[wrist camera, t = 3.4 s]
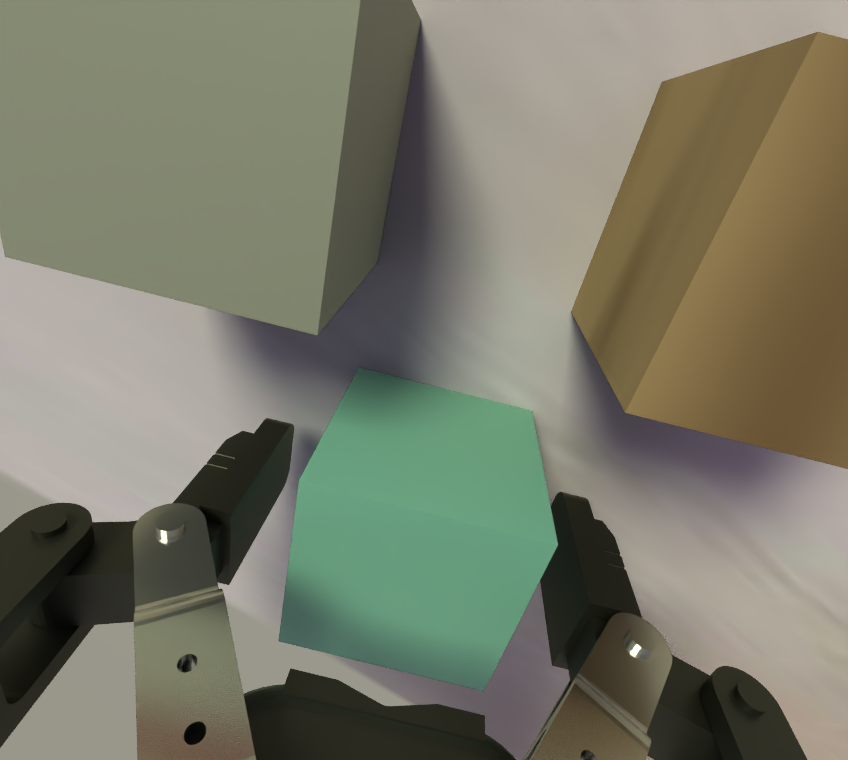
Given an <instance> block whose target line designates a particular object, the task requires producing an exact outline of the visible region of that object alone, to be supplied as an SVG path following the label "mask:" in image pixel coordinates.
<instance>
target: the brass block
mask: <svg viewBox="0 0 848 760" xmlns="http://www.w3.org/2000/svg"><path fill="white" fill-rule="evenodd" d="M571 313H572V315H573V316H574V318H575V320H576V322H577V324H578V326H579V328H580V329H581V331H582V333H583V335H584V337H585V339H586V341H587V343H588V344H589V346H590V348H591V350H592V352H593V354H594V356H595V358H596V359H597V361H598V363H599V365H600V367H601V369H602V371H603V373H604V374H605V376H606V378H607V380H608V382H609V384H610V386H611V387H612V389H613V391H614V393H615V395H616V397H617V399H618V401H619V402H620V404H621V406H622V408H623V410H624V412H625V413H628V414H632V415H636V416H640V417H644V418H648V419H652V420H656V421H660V422H664V423H668V424H672V425H676V426H680V427H684V428H688V429H692V430H696V431H699V432H703V433H707V434H711V435H715V436H719V437H723V438H727V439H731V440H735V441H739V442H743V443H747V444H751V445H755V446H759V447H763V448H767V449H771V450H775V451H779V452H783V453H787V454H791V455H795V456H799V457H803V458H807V459H811V460H815V461H819V462H823V463H827V464H831V465H835V466H839V467H843V468H846V469H848V40H847V39H843V38H840V37H836V36H832V35H828V34H824V33H820V32H816V33H813V34H810V35H807V36H804V37H801V38H798V39H795V40H791V41H788V42H785V43H782V44H779V45H776V46H773V47H770V48H766V49H763V50H760V51H757V52H754V53H751V54H748V55H745V56H741V57H738V58H735V59H732V60H729V61H726V62H723V63H720V64H717V65H713V66H710V67H707V68H704V69H701V70H698V71H695V72H692V73H688V74H685V75H682V76H679V77H676V78H673V79H670V80H667V81H664V82H662V83H661V86H660V88H659V91H658V93H657V96H656V98H655V101H654V103H653V106H652V108H651V111H650V113H649V116H648V119H647V121H646V124H645V126H644V129H643V131H642V134H641V136H640V139H639V141H638V144H637V146H636V149H635V151H634V154H633V156H632V159H631V162H630V164H629V167H628V169H627V172H626V174H625V177H624V179H623V182H622V184H621V187H620V189H619V192H618V194H617V197H616V199H615V202H614V205H613V207H612V210H611V212H610V215H609V217H608V220H607V222H606V225H605V227H604V230H603V232H602V235H601V237H600V240H599V243H598V245H597V248H596V250H595V253H594V255H593V258H592V260H591V263H590V265H589V268H588V270H587V273H586V275H585V278H584V280H583V283H582V286H581V288H580V291H579V293H578V296H577V298H576V301H575V303H574V306H573V308H572V311H571Z"/></svg>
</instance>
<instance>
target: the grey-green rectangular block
mask: <svg viewBox="0 0 848 760" xmlns="http://www.w3.org/2000/svg"><path fill="white" fill-rule="evenodd" d="M420 23H421V19H420V17H419V15H418V13H417V11H416V8H415V6H414V4H413V2H412V0H0V233H1V238H2V243H3V248H4V253H5V257H8V258H12V259H16V260H20V261H24V262H28V263H32V264H36V265H40V266H44V267H48V268H52V269H56V270H60V271H64V272H68V273H72V274H76V275H80V276H84V277H88V278H92V279H95V280H99V281H103V282H107V283H111V284H115V285H119V286H123V287H127V288H131V289H135V290H139V291H143V292H147V293H151V294H155V295H159V296H163V297H167V298H171V299H175V300H179V301H183V302H187V303H191V304H195V305H199V306H203V307H207V308H211V309H215V310H218V311H222V312H226V313H230V314H234V315H238V316H242V317H246V318H250V319H254V320H258V321H262V322H266V323H270V324H274V325H278V326H282V327H286V328H290V329H294V330H298V331H302V332H306V333H310V334H314V335H318V334H319V333H320V332H321V330H322V329H323V328H324V327H325V326H326V324H327V323H328V322H329V321H330V320H331V318H332V317H333V316H334V315H335V314H336V312H337V311H338V310H339V309H340V308H341V306H342V305H343V304H344V303H345V301H346V300H347V299H348V298H349V297H350V295H351V294H352V293H353V292H354V291H355V289H356V288H357V287H358V286H359V285H360V283H361V282H362V281H363V280H364V279H365V277H366V276H367V275H368V274H369V272H370V271H371V270H372V269H373V268H374V266H375V265H376V264H377V262H378V257H379V251H380V246H381V240H382V234H383V229H384V223H385V218H386V212H387V207H388V201H389V195H390V190H391V184H392V179H393V173H394V168H395V162H396V157H397V151H398V145H399V140H400V134H401V129H402V123H403V118H404V112H405V107H406V101H407V95H408V90H409V84H410V79H411V73H412V68H413V62H414V57H415V51H416V45H417V40H418V34H419V29H420Z"/></svg>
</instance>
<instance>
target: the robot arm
mask: <svg viewBox="0 0 848 760" xmlns="http://www.w3.org/2000/svg"><path fill="white" fill-rule="evenodd" d="M293 434H294V426H293V424H289V423H285V422H281V421H277V420H273V419H269V418H266V419H265V420H264V421H263V423H262V424H261V425H260V426H259V428H258V429H257V430H256V432H255V433H254V434H253V433H249V432H245V431H242V432H240V433H238V434H236V435H234V436H232V437H230V438H229V439H227V440H226V441H225V442H224V443H223V444H222V445H221V447H220V448H219V449H218V450H217V451H216V454H215V455H213V456H212V457H211V458H210V460H209V461H208V462H207V465H205V466H204V467H203V468H202V469H201V470H200V471H199V473H198V474H197V475H196V476H195V477H194V479H193V480H192V481H191V482H190V483H189V485H188V486H187V487H186V488H185V489H184V490H183V492H182V493H181V494H180V495H179V496H178V498H177V499H176V500H175V501H174V502H173V503H172V504H166V505H162V506H159V507H156V508H154V509H152V510H150V511H148V512H147V513H145V514H144V515H143V516H141V517H140V519H139V520H138V521H130V522H92V518H91V514H90V513H89V511H88V510H87V509H85V508H84V507H82V506H80V505H77V504H72V503H55V504H49V505H45V506H41V507H38V508H36V509H33V510H31V511H29V512H27V513H25V514H23V515H22V516H20V517H19V518H18V519H16V520H15V521H14V522H13V523H11V524H10V525H9V526H8V527H7V528H5V529H4V530H3V531H2V532H1V533H0V747H1V746H2V745H3V743H4V742H5V741H6V740H7V738H8V736H10V734H11V733H12V732H13V730H14V729H15V728H16V727H17V725H18V724H19V723H20V721H21V720H22V719H23V717H24V716H25V715H26V713H27V712H28V711H29V710H30V708H31V707H32V705H33V704H34V703H35V702H36V700H37V699H38V698H39V697H40V695H41V694H42V693H43V691H44V690H45V689H46V687H47V686H48V685H49V684H50V682H51V681H52V680H53V678H54V677H55V676H56V674H57V673H58V672H59V671H60V669H61V668H62V667H63V665H64V664H65V663H66V661H67V660H68V659H69V657H70V656H71V655H72V654H73V652H74V651H75V650H76V648H77V647H78V646H79V644H80V643H81V642H82V640H83V639H84V638H85V636H86V635H87V634H88V633H89V631H90V630H91V629H92V628H93V626H94V625H97V624H109V623H121V622H122V623H123V622H134V644H135V645H134V646H135V683H136V719H137V755H138V760H516V759H515V758H514V757H513V756H512V754H510V753H509V752H508V751H507V750H506V749H505V748H504V747H503V746H502V745H500V744H499V743H498V742H496V741H495V740H494V739H492V738H491V737H489V736H487V735H486V734H485V716H484V715H480V714H476V713H472V712H467V711H463V710H459V709H455V708H451V707H447V706H443V705H439V704H430V705H410V706H384V705H382V704H380V703H378V702H376V701H374V700H373V699H371V698H369V697H367V696H366V695H364V694H362V693H360V692H358V691H357V690H355V689H353V688H351V687H350V686H348V685H346V684H344V683H342V682H341V681H339V680H336V679H332V678H327V677H323V676H319V675H315V674H311V673H307V672H303V671H299V670H295V669H290V671H289V674H288V677H287V680H286V683H285V684H284V685H273V686H267V687H262V688H259V689H256V690H252V691H249V692H247V693H245V694H243V689H242V684H241V679H240V674H239V669H238V664H237V659H236V653H235V649H234V643H233V638H232V633H231V628H230V622H229V617H228V612H227V607H226V602H225V597H224V593H223V590H222V589H219V587H218V583H217V582H219V583H223V584H227V585H229V584H230V582H231V580H232V579H233V577H234V575H235V573H236V572H237V570H238V568H239V566H240V564H241V563H242V561H243V559H244V557H245V555H246V554H247V552H248V550H249V548H250V547H251V545H252V543H253V541H254V539H255V538H256V536H257V534H258V532H259V531H260V529H261V527H262V525H263V523H264V522H265V520H266V518H267V516H268V514H269V513H270V511H271V509H272V507H273V506H274V504H275V502H276V500H277V498H278V497H279V495H280V493H281V491H282V489H283V487H284V485H285V483H286V480H287V477H288V473H289V469H290V461H291V452H292V443H293ZM551 511H552V516H553V522H554V527H555V532H556V537H557V542H558V546H557V548H556V550H555V552H554V554H553V556H552V558H551V560H550V562H549V564H548V566H547V568H546V570H545V572H544V574H543V575H542V577H541V579H540V583H541V590H542V597H543V604H544V611H545V618H546V625H547V632H548V640H549V647H550V654H551V661H552V666H556V667H560V668H565V669H568V670H569V676H570V681H569V683H568V684H567V686H566V687H565V689H564V691H563V693H562V694H561V696H560V698H559V699H558V701H557V703H556V705H555V706H554V708H553V710H552V711H551V713H550V715H549V716H548V718H547V720H546V722H545V723H544V725H543V727H542V728H541V730H540V732H539V734H538V735H537V737H536V739H535V740H534V742H533V744H532V745H531V747H530V749H529V750H528V752H527V754H526V755H525V757H524V759H523V760H646V757H647V755H648V756H649V757H651V758H653V759H654V760H807V758H806V756H805V754H804V752H803V750H802V748H801V746H800V744H799V743H798V741H797V739H796V737H795V735H794V733H793V731H792V729H791V727H790V725H789V723H788V721H787V719H786V717H785V715H784V714H783V712H782V710H781V708H780V706H779V704H778V703H777V701H776V700H775V699H774V697H773V696H772V695H771V694H770V692H769V691H768V690H767V689H766V688H765V687H764V686H763V685H762V684H761V683H759V682H758V681H757V680H756V679H754V678H753V677H752V676H750V675H749V674H747V673H745V672H744V671H742V670H739V669H737V668H734V667H729V666H722V667H719V668H717V669H716V670H715V671H714V672H713V673H712V674H711V675H708V674H706V673H704V672H702V671H700V670H699V669H697V668H695V667H693V666H691V665H689V664H687V663H686V662H684V661H682V660H680V659H678V658H677V657H675V656H673V655H672V654H671V650H670V648H669V646H668V644H667V642H666V640H665V639H664V637H663V636H662V635H661V633H660V632H659V631H658V630H657V629H656V628H655V627H654V626H653V625H651V624H650V623H649V622H647V621H646V620H644V619H643V618H642V616H641V613H640V610H639V607H638V604H637V601H636V598H635V595H634V592H633V590H632V587H631V584H630V581H629V578H628V575H627V572H626V570H624V567H625V566H624V563H623V560H622V557H621V556H620V552H619V549H618V546H617V543H616V540H615V537H614V536H613V534H612V533H611V532H610V530H609V529H608V528H607V527H606V525H605V524H604V523H603V521H600V520H596V519H594V517H593V514H592V510H591V507H590V504H589V501H588V499H586V498H583V497H579V496H575V495H571V494H567V493H563V492H559V493H558V494H557V495H556V497H555V499H554V501H553V503H552V505H551Z"/></svg>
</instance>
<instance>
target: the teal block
mask: <svg viewBox="0 0 848 760" xmlns="http://www.w3.org/2000/svg"><path fill="white" fill-rule="evenodd" d="M557 546H558V542H557V537H556V532H555V527H554V522H553V516H552V511H551V506H550V501H549V496H548V491H547V485H546V480H545V475H544V470H543V465H542V460H541V455H540V449H539V444H538V439H537V434H536V429H535V424H534V418H533V413H532V411H530V410H526V409H522V408H518V407H514V406H510V405H506V404H502V403H498V402H494V401H491V400H487V399H483V398H479V397H475V396H471V395H467V394H463V393H459V392H455V391H451V390H447V389H443V388H439V387H435V386H431V385H427V384H423V383H419V382H415V381H411V380H407V379H403V378H399V377H395V376H391V375H387V374H383V373H379V372H375V371H371V370H367V369H363V368H358V370H357V372H356V374H355V376H354V378H353V379H352V381H351V383H350V385H349V387H348V389H347V391H346V393H345V395H344V396H343V398H342V400H341V402H340V404H339V406H338V408H337V410H336V412H335V413H334V415H333V417H332V419H331V421H330V423H329V425H328V427H327V429H326V430H325V432H324V434H323V436H322V438H321V440H320V442H319V444H318V446H317V447H316V449H315V451H314V453H313V455H312V457H311V459H310V461H309V462H308V464H307V466H306V468H305V470H304V472H303V474H302V476H301V478H300V479H299V484H298V492H297V499H296V507H295V515H294V523H293V531H292V539H291V547H290V555H289V563H288V571H287V578H286V586H285V594H284V602H283V610H282V618H281V626H280V634H279V641H280V642H284V643H288V644H292V645H296V646H300V647H304V648H308V649H313V650H317V651H321V652H325V653H329V654H333V655H337V656H341V657H345V658H349V659H353V660H358V661H362V662H366V663H370V664H374V665H378V666H382V667H386V668H390V669H394V670H398V671H403V672H407V673H411V674H415V675H419V676H423V677H427V678H431V679H435V680H439V681H443V682H448V683H452V684H456V685H460V686H464V687H468V688H472V689H476V690H480V691H484V690H485V688H486V686H487V684H488V682H489V680H490V678H491V676H492V674H493V672H494V670H495V668H496V666H497V664H498V662H499V660H500V658H501V656H502V654H503V652H504V650H505V648H506V646H507V644H508V642H509V640H510V639H511V637H512V635H513V633H514V631H515V629H516V627H517V625H518V623H519V621H520V619H521V617H522V615H523V613H524V611H525V609H526V607H527V605H528V603H529V601H530V599H531V597H532V595H533V593H534V591H535V589H536V587H537V585H538V583H539V581H540V579H541V577H542V575H543V574H544V572H545V570H546V568H547V566H548V564H549V562H550V560H551V558H552V556H553V554H554V552H555V550H556V548H557Z"/></svg>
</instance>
